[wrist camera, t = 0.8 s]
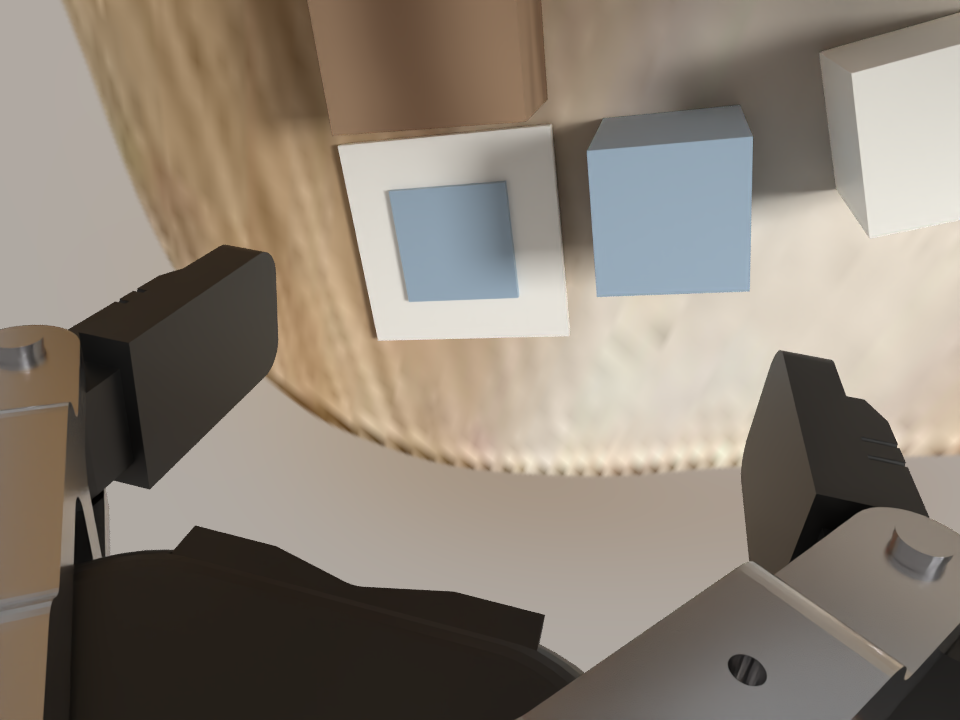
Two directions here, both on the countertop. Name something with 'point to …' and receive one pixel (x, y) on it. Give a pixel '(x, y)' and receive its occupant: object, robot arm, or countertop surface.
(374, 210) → the card
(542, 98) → the walnut base
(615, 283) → the slate block
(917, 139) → the white block
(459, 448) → the countertop surface
